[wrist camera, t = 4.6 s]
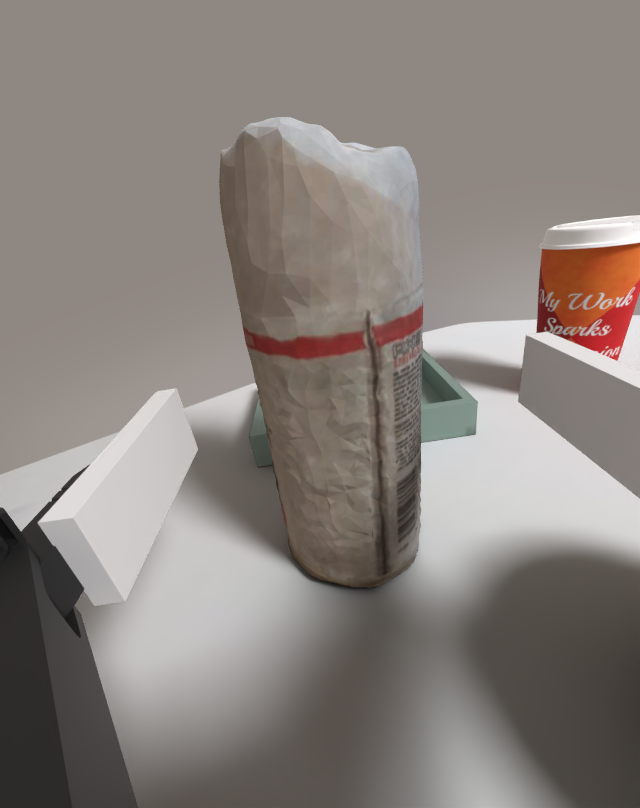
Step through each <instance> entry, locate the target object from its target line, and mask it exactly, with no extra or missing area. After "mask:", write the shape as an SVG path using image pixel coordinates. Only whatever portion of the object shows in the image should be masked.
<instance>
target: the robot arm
mask: <svg viewBox="0 0 640 808" xmlns="http://www.w3.org/2000/svg"><path fill="white" fill-rule="evenodd" d="M518 402H519V403H521V404H522V405H523V406H524V407H526V408H527V409H528V410H529V411H531V412H532V413H533V414H534V415H536V416H537V417H538V418H539V419H541V420H542V421H543V422H544V423H546V424H547V425H548V426H549V427H551V428H552V429H553V430H555V431H556V432H557V433H558V434H560V435H561V436H562V437H563V438H565V439H566V440H567V441H568V442H570V443H571V444H572V445H573V446H575V447H576V448H577V449H578V450H580V451H581V452H582V453H583V454H585V455H586V456H587V457H588V458H590V459H591V460H592V461H593V462H595V463H596V464H597V465H598V466H600V467H601V468H602V469H603V470H605V471H606V472H607V473H608V474H610V475H611V476H612V477H613V478H615V479H616V480H617V481H619V482H620V483H621V484H622V485H624V486H625V487H626V488H627V489H629V490H630V491H631V492H632V493H634V494H635V495H636V496H637V497H639V498H640V370H638V369H636V368H633V367H631V366H628V365H626V364H624V363H621V362H619V361H616V360H614V359H612V358H609V357H607V356H604V355H602V354H600V353H597V352H595V351H592V350H590V349H588V348H585V347H583V346H580V345H578V344H576V343H573V342H571V341H568V340H566V339H564V338H561V337H559V336H556V335H554V334H551V333H549V332H542V333H535V334H529V335H526V340H525V348H524V357H523V365H522V373H521V382H520V390H519V398H518ZM197 451H198V447H197V444H196V441H195V438H194V436H193V433H192V430H191V427H190V425H189V422H188V419H187V416H186V414H185V411H184V408H183V406H182V403H181V400H180V397H179V394H178V392H177V389H170V390H164V391H157V392H156V393H155V394H154V395H153V396H152V397H151V398H150V399H149V400H148V402H147V403H146V404H145V405H144V406H143V407H142V408H141V409H140V410H139V411H138V413H137V414H136V415H135V416H134V417H133V418H132V420H131V421H129V423H128V424H127V425H126V426H125V427H124V428H123V429H122V430H121V431H120V432H119V434H118V435H117V436H116V437H115V438H114V439H113V440H112V441H111V442H110V443H109V445H108V446H107V447H106V448H105V449H104V450H103V451H102V452H101V453H100V454H99V456H98V457H97V458H96V459H95V460H94V461H93V462H92V463H91V464H90V465H88V466H87V467H85V468H84V469H83V470H81V471H80V472H78V473H77V474H75V475H74V476H73V477H72V478H71V479H70V480H69V481H68V482H67V483H66V484H65V485H64V486H63V487H62V490H61V491H59V492H58V493H57V494H56V495H55V496H54V497H53V498H52V502H48V504H47V505H46V506H45V507H44V508H43V509H42V510H41V511H40V512H39V513H38V514H37V515H36V516H35V517H34V518H33V520H32V521H31V522H30V523H29V524H28V525H27V526H26V527H25V528H24V529H23V530H22V531H21V532H20V530H19V529H18V527H17V526H16V525H15V523H14V522H13V520H12V519H11V518H10V516H9V515H8V514H7V512H6V511H5V510H4V509H3V508H0V808H138V807H137V803H136V800H135V796H134V793H133V790H132V786H131V783H130V779H129V776H128V773H127V769H126V766H125V763H124V759H123V756H122V752H121V749H120V746H119V742H118V739H117V735H116V732H115V729H114V725H113V722H112V718H111V715H110V712H109V708H108V705H107V701H106V698H105V695H104V691H103V688H102V685H101V681H100V678H99V674H98V671H97V668H96V664H95V661H94V657H93V654H92V651H91V647H90V644H89V640H88V637H87V634H86V630H85V627H84V623H83V620H82V617H81V614H80V613H79V611H78V610H77V609H76V607H75V606H74V605H75V603H76V602H77V600H78V599H79V597H80V595H81V594H82V592H83V590H84V592H85V593H86V594H87V596H88V597H89V599H90V600H91V602H92V603H93V605H94V606H99V605H106V604H113V603H121V602H125V601H126V599H127V597H128V595H129V593H130V591H131V589H132V587H133V585H134V582H135V580H136V578H137V576H138V574H139V572H140V570H141V568H142V566H143V564H144V562H145V559H146V557H147V555H148V553H149V551H150V549H151V547H152V545H153V543H154V541H155V539H156V536H157V534H158V532H159V530H160V528H161V526H162V524H163V522H164V520H165V518H166V516H167V513H168V511H169V509H170V507H171V505H172V503H173V501H174V499H175V497H176V495H177V493H178V490H179V488H180V486H181V484H182V482H183V480H184V478H185V476H186V474H187V472H188V470H189V467H190V465H191V463H192V461H193V459H194V457H195V455H196V453H197Z"/></svg>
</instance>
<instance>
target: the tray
mask: <svg viewBox="0 0 640 808" xmlns="http://www.w3.org/2000/svg"><path fill="white" fill-rule="evenodd" d="M422 354H423V356H422V383H421V385H422V393H421V438H422V440H421V442H427V441H434V440H441V439H447V438H454V437H461V436H467V435H474V434H476V419H477V403H478V401H477V400H475V399H474V398H473V397H472V396H471V395H470V394H469V393H468V392H467V391H466V390H465V389H464V388H463V387H462V386H461V385H460V384H459V383H458V382H457V381H456V380H455V379H454V378H453V377H452V376H451V375H450V374H449V373H448V372H447V371H445V370H444V369H443V368H442V367H441V366H440V365H439V364H438V363H437V362H436V361H435V360H434V359H433V358H432V357H431V356H430V355H429V354H428V353H427V352H426V351H425V350H424V349H423V348H422ZM259 404H260V400H259V399H258V403H257V406H256V410H255V414H254V418H253V422H252V426H251V430H250V434H249V438H250V442H251V445H252V449H253V453H254V456H255V460H256V463H257V467H261V466H268V465H272V456H271V453H270V451H271V450H270V446H269V443H268V440H267V432H266V427H265V424H264V417H263V412H262V408H261V406H260V405H259Z"/></svg>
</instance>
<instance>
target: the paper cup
mask: <svg viewBox="0 0 640 808" xmlns="http://www.w3.org/2000/svg"><path fill="white" fill-rule="evenodd" d="M538 248H541V249H542V256H541V267H540V278H539V295H538V297H539V298H538V318H537V333H542V332H549V333H551V334H554V335H556V336H559V337H561V338H564V339H566V340H568V341H571V342H573V343H576V344H578V345H580V346H583V347H585V348H588V349H590V350H592V351H595V352H597V353H600V354H602V355H604V356H607V357H609V358H612V359H614V360H616V361H617V360H618V357H619V354H620V351H621V348H622V345H623V342H624V339H625V336H626V333H627V330H628V327H629V324H630V321H631V318H632V315H633V312H634V308H635V305H636V302H637V299H638V296H639V293H640V215H639V216H626V217H616V218H605V219H598V220H597V219H596V220H589V221H582V222H574V223H569V224H562V225H557V226H554V227H552V228H550V229H548V230H547V231H546V233H545V236H544V240H543V242H541V243H540V244H539V246H538Z"/></svg>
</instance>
